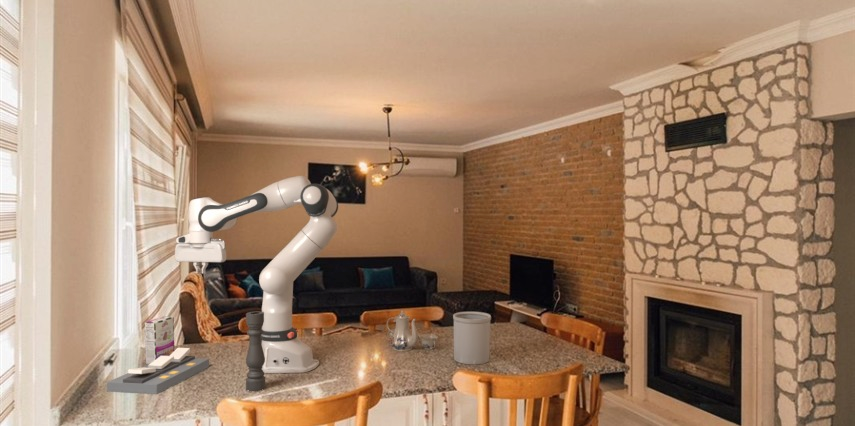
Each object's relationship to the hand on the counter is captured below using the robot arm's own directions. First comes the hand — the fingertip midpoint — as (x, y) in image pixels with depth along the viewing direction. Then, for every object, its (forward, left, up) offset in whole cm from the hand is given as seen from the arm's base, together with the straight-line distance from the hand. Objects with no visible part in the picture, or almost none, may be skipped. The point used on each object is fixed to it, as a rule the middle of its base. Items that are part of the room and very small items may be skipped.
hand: (200, 273), depth 212 cm
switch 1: (+1, +33, -29) cm, 44 cm away
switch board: (+1, +23, -34) cm, 41 cm away
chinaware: (-76, -31, -34) cm, 89 cm away
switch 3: (+1, +13, -29) cm, 32 cm away
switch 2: (+1, +23, -29) cm, 37 cm away
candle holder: (-37, +28, -34) cm, 58 cm away
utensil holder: (-105, -16, -34) cm, 112 cm away
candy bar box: (+16, +3, -34) cm, 38 cm away
